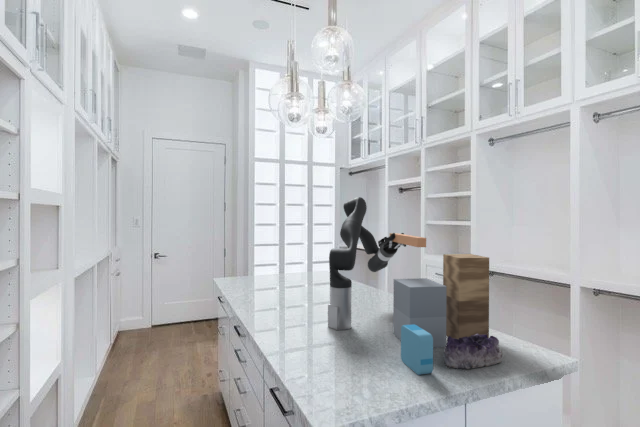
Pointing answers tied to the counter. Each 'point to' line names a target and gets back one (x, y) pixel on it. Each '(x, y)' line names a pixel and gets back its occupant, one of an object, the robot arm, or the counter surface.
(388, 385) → the counter surface
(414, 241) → the bar
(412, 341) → the blue flat block
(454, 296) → the tall tower
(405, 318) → the low stand
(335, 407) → the counter surface
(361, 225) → the robot arm
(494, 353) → the geode
